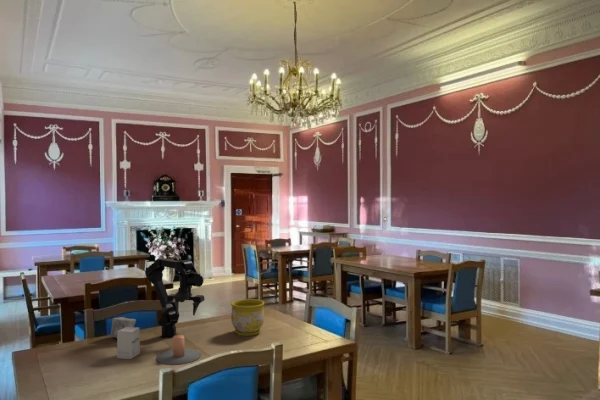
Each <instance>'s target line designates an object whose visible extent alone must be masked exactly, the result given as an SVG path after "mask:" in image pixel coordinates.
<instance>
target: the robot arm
mask: <svg viewBox="0 0 600 400" xmlns="http://www.w3.org/2000/svg"><path fill="white" fill-rule="evenodd" d="M165 268H168V269H169V268H170V269H174V270H175V271H177V272H178V273H177V274H176V276H178V277H179V287H178V290H177V292H176V293H171V294H169V295H168V292H167V290H166V286H165V285H164V282H163V276H164V273H163V272H164V271H165V270H166V269H165ZM144 273H145V276H146V278H147V280H148V281H149V282H150V283H152V285H153V288H154V291H155V293H156V295H157V297H158V298H157V299H158V300H159V303H160V305H161V313H160V314H161V318H159V320H158V326H160V327H161V335H160V336H159V337H160V338H167V339H168V338H172V339H173V337H174V336H176V335H178V334H177V327H176V324H178V322H179V319H180V311H179V306H180V305H179V303H184V302H186V301H192V307H193V309H192V316H195V315H196V313H197V310H198V307H199V305H200V304H202V303H203V302H204V301H205V296H204V295H203V294H196V295H195V296H193V294H192V288H193V287H197V288H199V287H202V285H203V284H204V278H203V275H202V274H201V272H198V271H197V269H196V268H195V265H194V263H193V262H192V260H191V259H185V260H174V259H168V258H165V257H162V258H157V259H156V260H155V261H154V262H153V263H151V264H150V265H149V266H148V267H147V268H146V269H145V271H144Z"/></svg>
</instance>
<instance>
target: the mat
mask: <svg viewBox="0 0 600 400" xmlns="http://www.w3.org/2000/svg"><path fill="white" fill-rule="evenodd" d="M201 353H202V352H200V351H199V350H197V349H193V348H192V349H191V348H184V357H181V358H174V357H173V349H170V350H168V351H167V350H166V351H163V352H161V353H159V354H158V355H157V356H156V362H158V363H159V364H162V365H168V366H169V365H170V366H177V365H178V366H179V365H186V364H190V363H194V362H195V361H198V360H199V359H200V358H201V356H202V354H201Z"/></svg>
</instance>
